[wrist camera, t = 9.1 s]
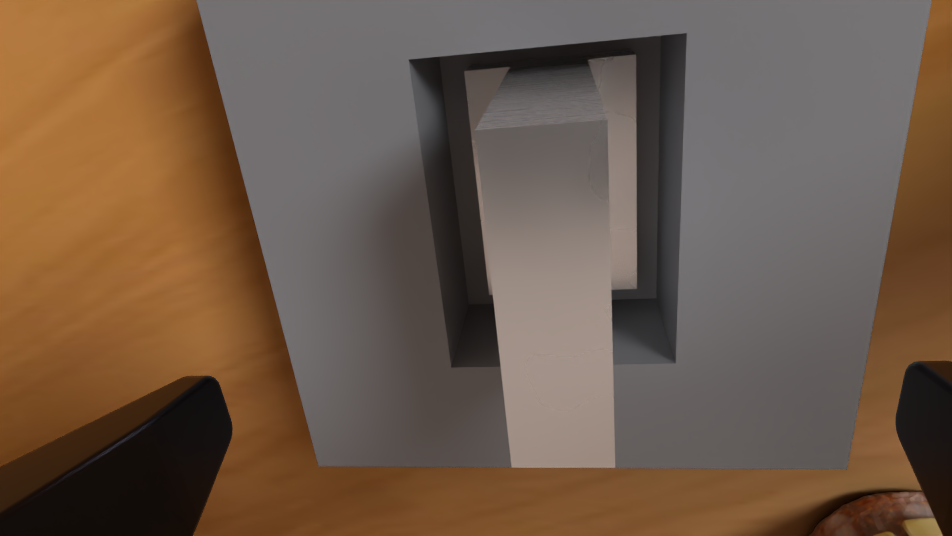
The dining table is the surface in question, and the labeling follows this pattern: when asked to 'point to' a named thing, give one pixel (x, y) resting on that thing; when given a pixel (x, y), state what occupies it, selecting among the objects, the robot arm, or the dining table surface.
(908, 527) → the sauce bottle
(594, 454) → the brushed grey block
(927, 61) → the dining table surface
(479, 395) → the well block
